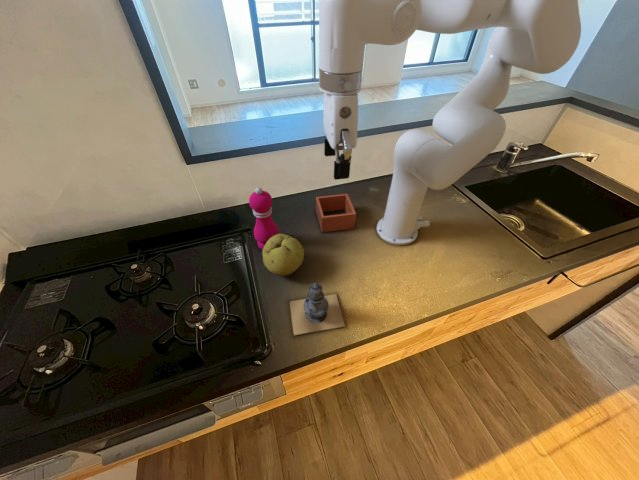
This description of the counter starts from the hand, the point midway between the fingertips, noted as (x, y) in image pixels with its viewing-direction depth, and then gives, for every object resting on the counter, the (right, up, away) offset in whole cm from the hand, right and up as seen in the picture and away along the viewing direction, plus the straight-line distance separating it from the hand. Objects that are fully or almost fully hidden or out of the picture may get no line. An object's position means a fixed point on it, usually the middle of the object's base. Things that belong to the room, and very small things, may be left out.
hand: (336, 166), depth 61 cm
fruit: (-13, -24, +16) cm, 32 cm away
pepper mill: (-19, -18, +23) cm, 34 cm away
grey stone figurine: (-4, -34, +6) cm, 35 cm away
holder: (+1, -10, +30) cm, 32 cm away
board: (-4, -34, +6) cm, 35 cm away
